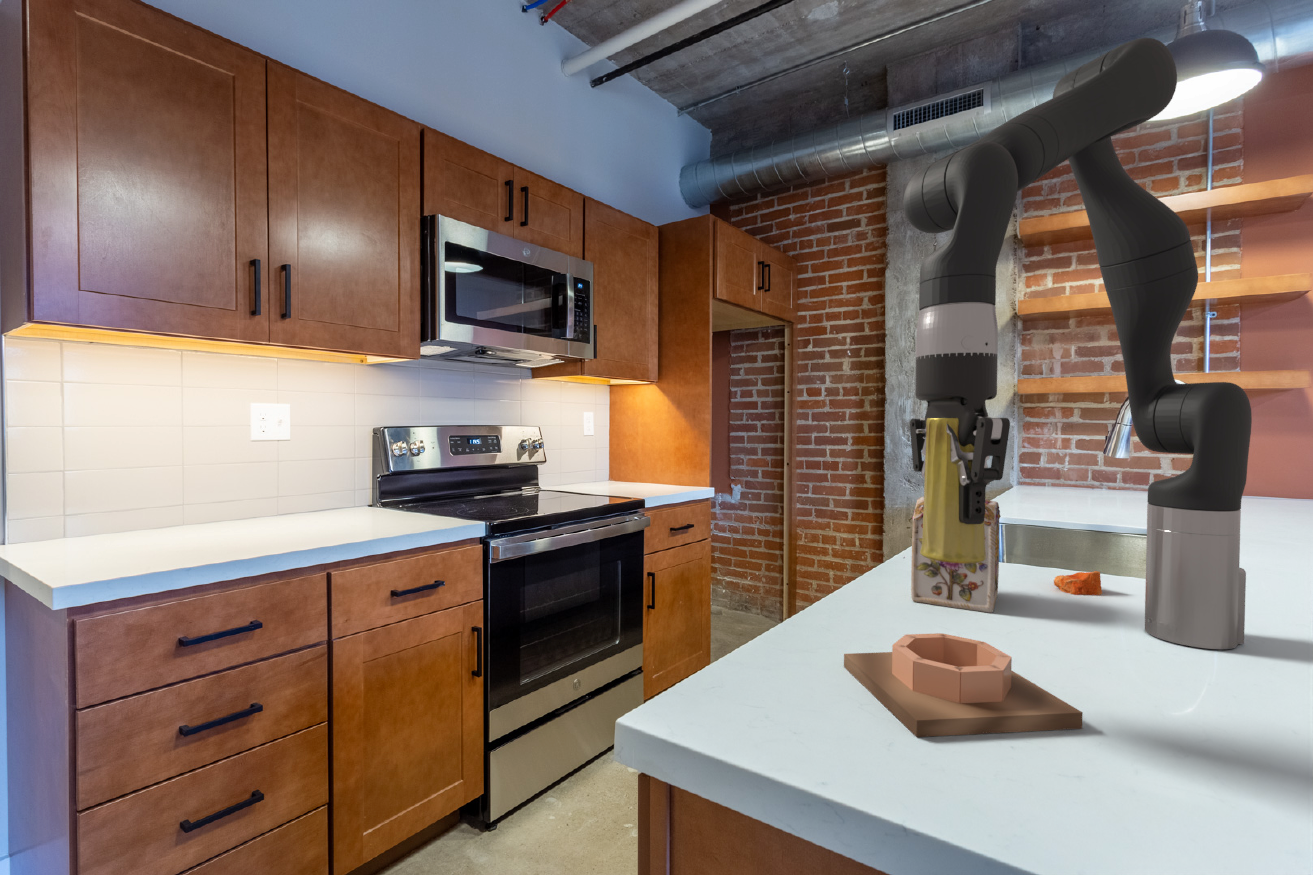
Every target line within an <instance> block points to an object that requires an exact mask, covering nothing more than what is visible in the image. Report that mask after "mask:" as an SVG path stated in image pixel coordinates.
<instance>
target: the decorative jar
mask: <svg viewBox="0 0 1313 875" xmlns="http://www.w3.org/2000/svg"><path fill="white" fill-rule="evenodd" d="M923 512H924V496H920V497H919V498H917V500H916V504H915V508H914V510H913V516H912V517H911V520H912V535H911V536H912V538H911V570H910V572H911V577H910V578H911V579H910V580H911V585H910V587H911V588H910V591H911V592H910V593H911V594H910V595H911V597H910V598H911V601H912V602H914V603H921V604H927V605H933V606H934V605H935V606H940V607H948V608H953V609H961V610H968V611H975V612H982V613H988V614H991V613H993V612H994V609H995V605H996V602H997V598H998V594H999V593H998V592H999V575H1000V574H999V572H1000V518H1001V511H1000V506H999V503H998V502H997V501H995V500H991V499H988V498H985V516H984V528H985V552H986V559H985V560H984V561H983V562H979V563H950V562H942V561H937V560H932V559H929V558H926V557H924V556H922V555H921V553H920V550H921V547H922V536H923Z"/></svg>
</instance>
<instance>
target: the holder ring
mask: <svg viewBox="0 0 1313 875" xmlns="http://www.w3.org/2000/svg"><path fill="white" fill-rule="evenodd" d="M891 652H892V674H893V675H894V676H896V677H897V678H898V679H899V680H900V681H902V682H903V683H904V684H905V685H906V686H908V687H909V688H910V689H911V690H912V691H915V692H919V693H923V694H927V695H930V696H934V697H938V698H942V699H945V700H949V701H953V702H957V703H980V702H1002V701H1003V700H1004V698H1005V697H1006V695H1007V693H1008V691H1009V690H1010V688H1011V670H1012V662H1013V660H1012V656H1011V655H1010V654H1009V655H1008V654H1007V653H1005V652H1003V651H1002V650H1000V649H998V648H996V647H995V646H993V645H991V644H989V643H987V642H986V641H981V640H978V639H977V640H976V639H972V638H967V637H962V636H956V635H953V634H949V633H948V634H947V633H940V632H939V633H938V632H937V633H919V634H918V633H915V634H913V633H912V634H909V633H907V634H903V636H902V637H900V638H899V639H898V640H897V641H896V642H894V643H893V644H892V651H891Z"/></svg>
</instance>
